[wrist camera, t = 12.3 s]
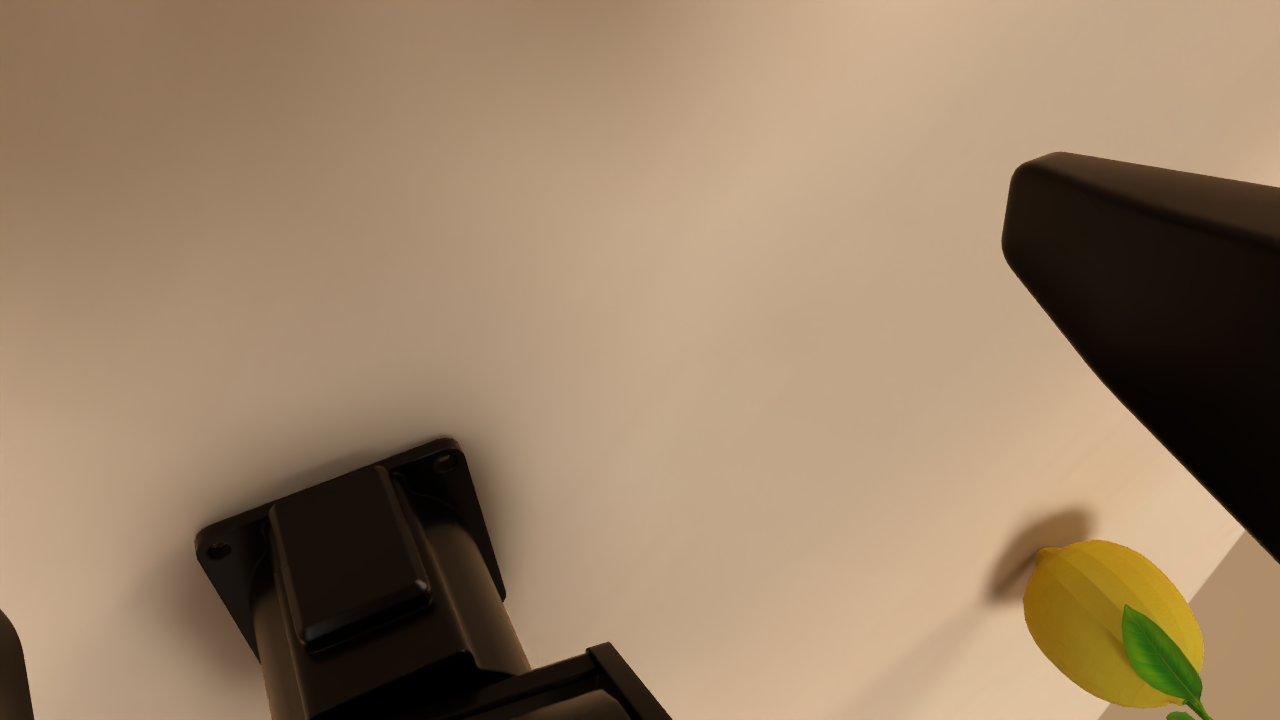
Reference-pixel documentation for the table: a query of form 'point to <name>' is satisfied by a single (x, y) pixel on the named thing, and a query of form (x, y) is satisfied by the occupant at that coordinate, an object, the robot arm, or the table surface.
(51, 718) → the table surface
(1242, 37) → the table surface
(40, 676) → the table surface
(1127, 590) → the lemon
